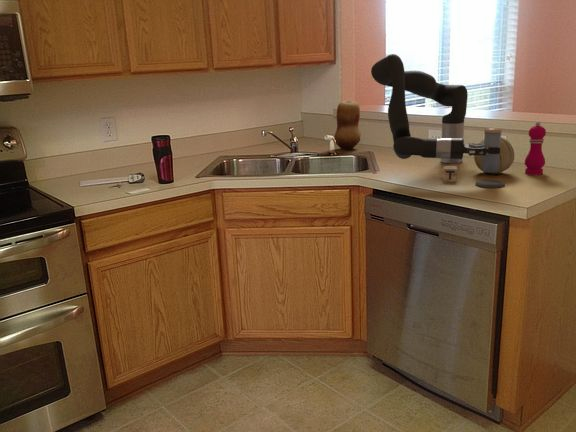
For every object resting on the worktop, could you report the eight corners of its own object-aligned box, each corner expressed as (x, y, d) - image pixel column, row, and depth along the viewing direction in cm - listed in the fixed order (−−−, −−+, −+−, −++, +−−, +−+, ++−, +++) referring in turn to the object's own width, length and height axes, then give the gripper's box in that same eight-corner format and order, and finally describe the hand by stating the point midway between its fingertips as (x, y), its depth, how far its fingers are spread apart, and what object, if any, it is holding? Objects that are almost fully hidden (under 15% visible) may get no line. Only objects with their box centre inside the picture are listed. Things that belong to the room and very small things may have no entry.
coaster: (475, 181, 200) (475, 180, 199) (503, 182, 197) (503, 180, 197) (475, 187, 191) (475, 186, 190) (505, 188, 188) (506, 186, 187)
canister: (481, 168, 195) (484, 128, 191) (498, 169, 194) (501, 128, 190) (481, 171, 190) (484, 130, 186) (499, 172, 188) (502, 130, 184)
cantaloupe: (514, 177, 202) (517, 138, 198) (473, 177, 207) (475, 138, 202) (511, 169, 216) (513, 132, 212) (472, 169, 220) (474, 133, 216)
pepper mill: (544, 172, 209) (548, 120, 204) (544, 175, 203) (548, 122, 198) (524, 171, 212) (527, 120, 207) (523, 175, 206) (527, 122, 200)
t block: (443, 178, 207) (443, 166, 206) (456, 178, 206) (457, 166, 204) (443, 181, 202) (443, 168, 201) (456, 182, 201) (457, 169, 200)
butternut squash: (354, 152, 274) (353, 102, 267) (330, 150, 280) (329, 102, 273) (364, 147, 285) (364, 99, 278) (341, 146, 292) (340, 100, 285)
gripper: (449, 141, 186) (501, 141, 181) (450, 135, 200) (499, 135, 195) (448, 162, 189) (500, 163, 184) (449, 155, 202) (497, 156, 197)
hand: (499, 149), depth 189 cm, fingers closed on canister, 5 cm apart
